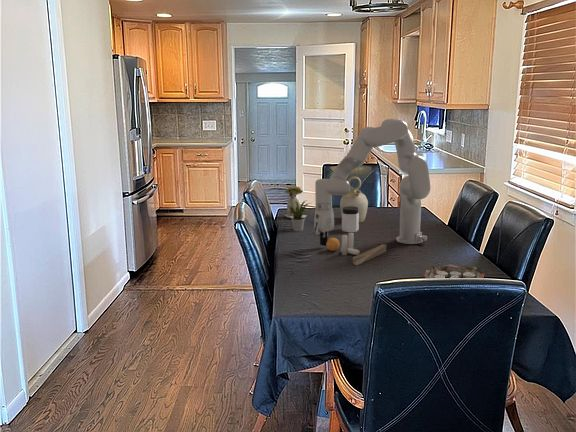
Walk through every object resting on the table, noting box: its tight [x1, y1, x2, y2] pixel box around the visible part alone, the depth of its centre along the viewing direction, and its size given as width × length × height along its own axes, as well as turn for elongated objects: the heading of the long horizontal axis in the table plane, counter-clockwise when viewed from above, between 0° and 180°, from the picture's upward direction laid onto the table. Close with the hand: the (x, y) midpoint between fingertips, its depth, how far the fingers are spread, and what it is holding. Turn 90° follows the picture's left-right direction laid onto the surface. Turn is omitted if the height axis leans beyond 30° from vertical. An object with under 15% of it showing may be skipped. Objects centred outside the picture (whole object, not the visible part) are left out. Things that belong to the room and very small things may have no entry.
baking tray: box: [423, 264, 485, 279], centre depth 197 cm, size 30×22×5 cm
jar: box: [341, 206, 360, 233], centre depth 274 cm, size 9×8×12 cm
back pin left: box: [341, 234, 348, 256], centre depth 234 cm, size 2×2×8 cm
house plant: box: [286, 200, 311, 232], centre depth 277 cm, size 14×14×16 cm
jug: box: [339, 175, 369, 223], centre depth 295 cm, size 15×16×25 cm
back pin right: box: [347, 232, 355, 249], centre depth 238 cm, size 2×2×8 cm
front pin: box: [340, 246, 361, 256], centre depth 236 cm, size 2×2×8 cm
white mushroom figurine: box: [283, 185, 307, 219], centre depth 304 cm, size 12×13×18 cm
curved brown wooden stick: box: [352, 244, 387, 266], centre depth 229 cm, size 2×24×3 cm, turn 140°
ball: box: [326, 237, 341, 252], centre depth 240 cm, size 6×6×6 cm
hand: (323, 244), depth 245 cm, fingers closed
